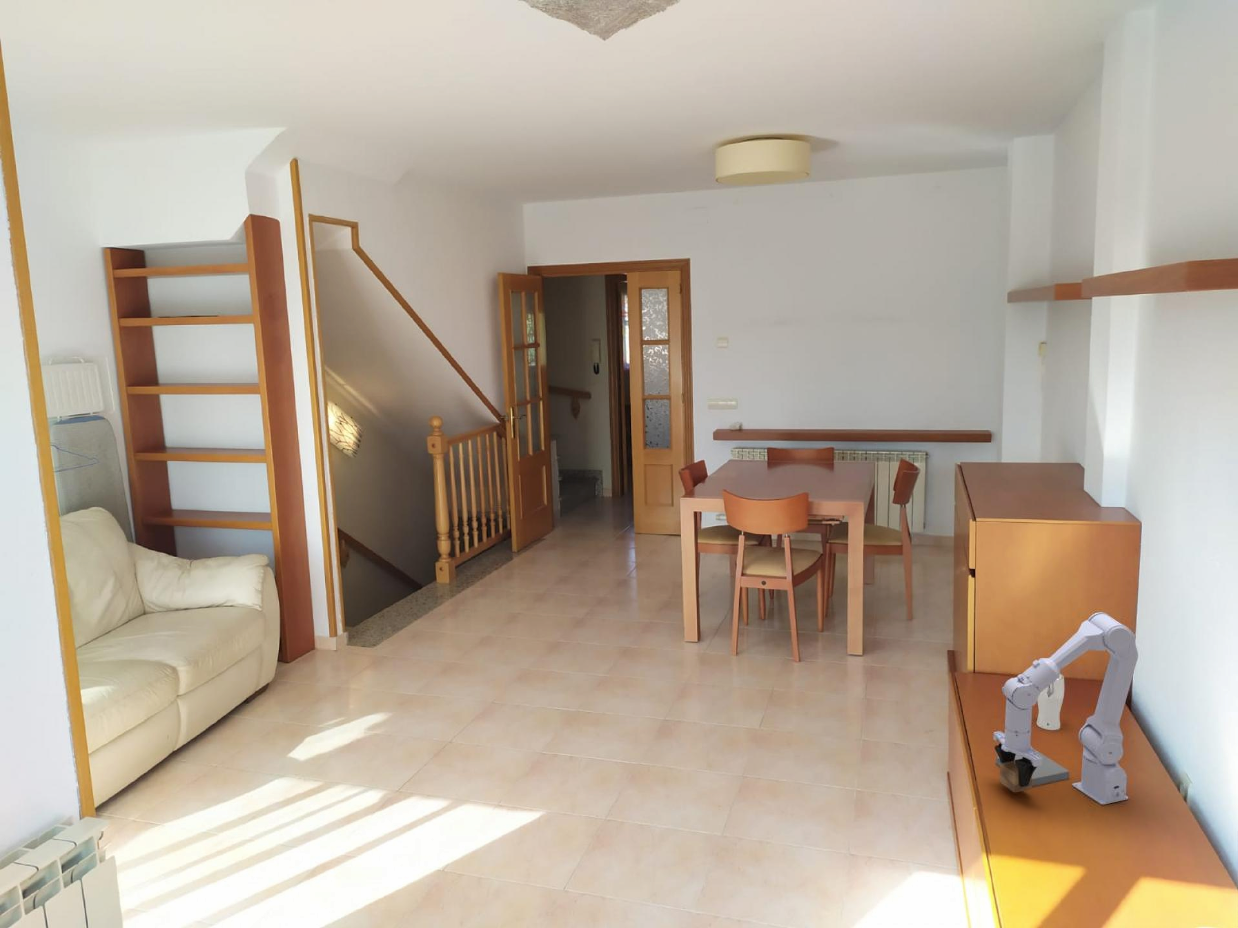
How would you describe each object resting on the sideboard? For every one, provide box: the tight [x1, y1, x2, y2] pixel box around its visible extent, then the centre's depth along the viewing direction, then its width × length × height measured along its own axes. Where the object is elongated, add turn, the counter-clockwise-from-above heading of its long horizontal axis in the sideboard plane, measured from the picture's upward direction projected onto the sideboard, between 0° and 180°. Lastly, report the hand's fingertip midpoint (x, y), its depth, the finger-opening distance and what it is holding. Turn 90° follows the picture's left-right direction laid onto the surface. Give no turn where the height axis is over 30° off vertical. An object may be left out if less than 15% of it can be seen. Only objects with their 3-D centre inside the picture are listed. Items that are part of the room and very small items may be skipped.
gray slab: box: [995, 748, 1070, 787], centre depth 227 cm, size 12×12×2 cm
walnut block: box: [999, 761, 1033, 793], centre depth 217 cm, size 5×5×5 cm
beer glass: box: [1036, 673, 1065, 731], centre depth 250 cm, size 7×7×15 cm
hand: (1015, 779), depth 217 cm, fingers closed on walnut block, 5 cm apart
